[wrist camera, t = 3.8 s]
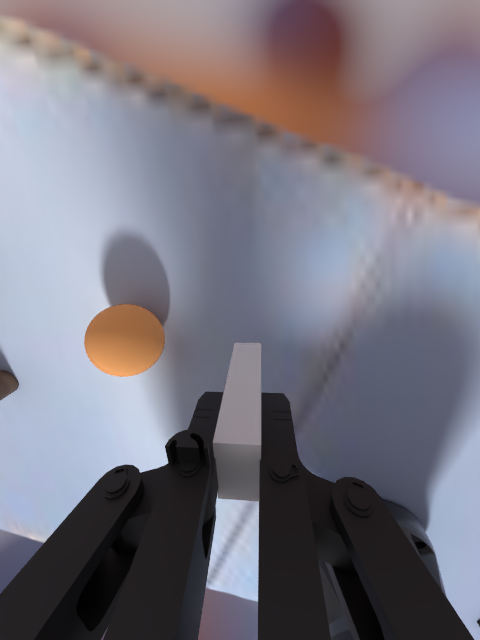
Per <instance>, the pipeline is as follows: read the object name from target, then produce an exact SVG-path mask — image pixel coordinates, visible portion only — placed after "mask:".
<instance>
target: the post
mask: <svg viewBox="0 0 480 640" xmlns="http://www.w3.org/2000/svg"><path fill="white" fill-rule="evenodd" d="M17 388H18V381H17V379H16V378H15V377H14V376H13V375H12V374H11V373H9V372H7V371H3V370H0V400H2V399H3V398H5V397H6V396H8V395H9V394H11V393H12V392H14V391H15V390H17Z"/></svg>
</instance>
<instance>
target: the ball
mask: <svg viewBox="0 0 480 640" xmlns="http://www.w3.org/2000/svg"><path fill="white" fill-rule="evenodd" d="M164 342H165V336H164V331H163V327H162V325H161V323H160V321H159V320H158V319H157V317H156V316H155V315H154V314H153V313H151V312H150V311H149V310H147V309H145V308H143V307H140V306H137V305H132V304H120V305H115V306H112V307H109V308H107V309H105V310H103V311H102V312H100V313H99V314H98V315H96V316H95V317H94V319H93V320H92V321H91V323H90V324H89V326H88V328H87V330H86V333H85V342H84V344H85V350H86V353H87V356H88V357H89V359H90V361H91V362H92V363H93V364H94V365H95V366H96V367H97V368H98V369H100V370H101V371H103V372H105V373H107V374H110V375H114V376H120V377H124V376H133V375H136V374H139V373H142V372H144V371H146V370H147V369H149V368H150V367H151V366H152V365H153V364H154V363H155V362H156V361H157V360H158V359H159V357H160V355H161V353H162V351H163V348H164Z"/></svg>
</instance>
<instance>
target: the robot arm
mask: <svg viewBox="0 0 480 640" xmlns="http://www.w3.org/2000/svg"><path fill="white" fill-rule="evenodd" d="M165 448H166V453H167V458H168V464H166V465H165V466H162V467H160V468H157V469H153V470H149V471H145V472H141V473H140V472H139V469H138V468H136V467H135V466H133V465H122V466H118V467H115V468H114V469H112V470H110V471H108V472H107V473H106V474H105V475H104V476H103V477H102V478H100V479H99V481H98V482H97V483H96V484H95V485H94V486H93V488H92V489H91V490H90V491H89V492H88V493H87V494H86V496H85V497H84V498H83V499H82V500H81V501H80V503H79V504H78V505H77V506H76V507H75V508H74V509H73V511H72V512H71V513H70V514H69V515H68V516H67V518H66V519H65V520H64V521H63V522H62V523H61V524H60V526H59V527H58V528H57V529H56V530H55V531H54V533H53V534H52V535H51V536H50V537H49V538H48V539H47V541H46V542H45V543H44V544H43V545H42V546H41V548H40V549H39V550H38V551H37V552H36V553H35V554H34V556H33V557H32V558H31V559H30V560H29V561H28V563H27V564H26V565H25V566H24V567H23V568H22V569H21V571H20V572H19V573H18V574H17V575H16V577H15V578H14V579H13V580H12V581H11V582H10V583H9V585H8V586H7V587H6V588H5V589H4V590H3V591H2V593H1V594H0V640H101V638H102V636H103V634H104V632H105V631H106V629H107V627H108V629H107V631H106V634H105V637H104V639H103V640H198V633H199V627H200V621H201V614H202V607H203V599H204V594H205V587H206V581H207V574H208V567H209V561H210V554H211V547H212V541H213V534H214V527H215V521H216V508H215V505H216V499H217V492H218V498H221V499H235V500H249V501H259V581H258V640H474V639H473V637H472V636H471V634H470V633H469V631H468V630H467V628H466V627H465V625H464V623H463V622H462V620H461V619H460V617H459V616H458V614H457V613H456V611H455V610H454V608H453V607H452V605H451V604H450V602H449V601H448V599H447V597H446V594H445V590H444V586H443V582H442V578H441V574H440V570H439V566H438V562H437V558H436V555H435V551H434V549H433V546H432V544H431V542H430V540H429V538H428V536H427V534H426V533H425V531H424V529H423V527H422V525H421V523H420V522H419V520H418V519H417V518H416V517H415V516H414V515H413V514H412V513H411V512H409V511H408V510H406V509H405V508H403V507H401V506H399V505H396V504H394V503H391V502H388V501H384V500H382V499H381V497H380V496H379V495H378V494H377V493H376V491H375V490H374V489H373V488H372V487H371V486H369V485H368V484H366V483H365V482H364V481H361V480H359V479H356V478H352V477H344V478H342V479H339V480H337V481H336V483H333V482H330V481H328V480H325V479H322V478H320V477H318V476H316V475H314V474H312V473H311V472H310V471H308V470H307V469H306V468H305V467H304V466H303V464H302V463H301V461H300V459H299V457H298V453H297V447H296V441H295V435H294V428H293V422H292V415H291V409H290V403H289V401H288V399H287V398H286V396H285V395H284V394H283V393H261V343H234V348H233V352H232V357H231V361H230V366H229V371H228V375H227V380H226V384H225V389H224V392H205V393H204V394H203V395H202V396H201V397H200V399H199V400H198V403H197V406H196V409H195V411H194V414H193V418H192V420H191V423H190V426H189V428H188V430H184V431H182V432H179V433H177V434H175V435H174V436H173V437H172V438H170V439H169V441H168V442H167V444H166V445H165ZM108 625H109V626H108Z"/></svg>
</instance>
